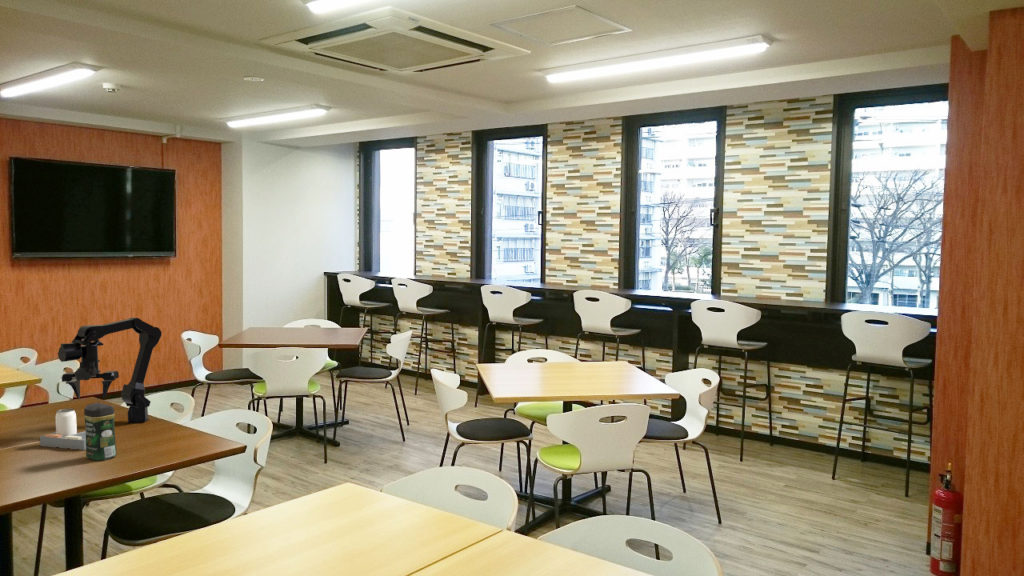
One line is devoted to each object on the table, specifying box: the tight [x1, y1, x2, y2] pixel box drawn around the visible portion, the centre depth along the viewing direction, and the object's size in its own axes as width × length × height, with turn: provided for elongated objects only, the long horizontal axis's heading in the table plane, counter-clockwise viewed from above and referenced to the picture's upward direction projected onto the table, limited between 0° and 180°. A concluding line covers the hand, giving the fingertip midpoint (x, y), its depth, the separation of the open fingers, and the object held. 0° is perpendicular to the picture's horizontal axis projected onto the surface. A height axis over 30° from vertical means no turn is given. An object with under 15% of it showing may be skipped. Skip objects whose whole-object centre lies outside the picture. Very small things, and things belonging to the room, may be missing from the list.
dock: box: [39, 430, 86, 451], centre depth 269 cm, size 10×20×4 cm, turn 72°
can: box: [55, 408, 78, 437], centre depth 271 cm, size 6×6×12 cm
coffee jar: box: [83, 402, 117, 462], centre depth 251 cm, size 10×8×19 cm
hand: (91, 398), depth 287 cm, fingers open, 9 cm apart
